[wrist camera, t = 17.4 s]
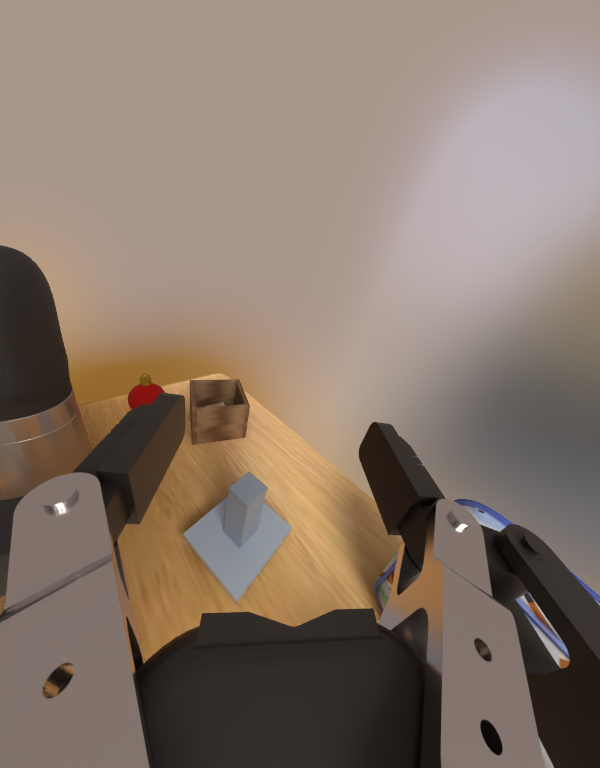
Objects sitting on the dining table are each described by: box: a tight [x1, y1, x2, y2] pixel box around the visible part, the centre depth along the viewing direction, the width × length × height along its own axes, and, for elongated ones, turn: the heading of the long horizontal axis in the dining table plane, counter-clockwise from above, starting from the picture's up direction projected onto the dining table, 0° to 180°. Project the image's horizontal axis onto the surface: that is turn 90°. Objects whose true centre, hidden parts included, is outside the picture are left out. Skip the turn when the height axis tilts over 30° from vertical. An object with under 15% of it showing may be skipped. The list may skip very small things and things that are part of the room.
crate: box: [190, 380, 250, 445], centre depth 51 cm, size 11×11×9 cm
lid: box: [183, 472, 292, 604], centre depth 31 cm, size 11×11×12 cm
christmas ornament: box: [128, 374, 165, 409], centre depth 50 cm, size 7×7×10 cm
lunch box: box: [374, 499, 600, 768], centre depth 20 cm, size 28×10×22 cm, turn 32°
